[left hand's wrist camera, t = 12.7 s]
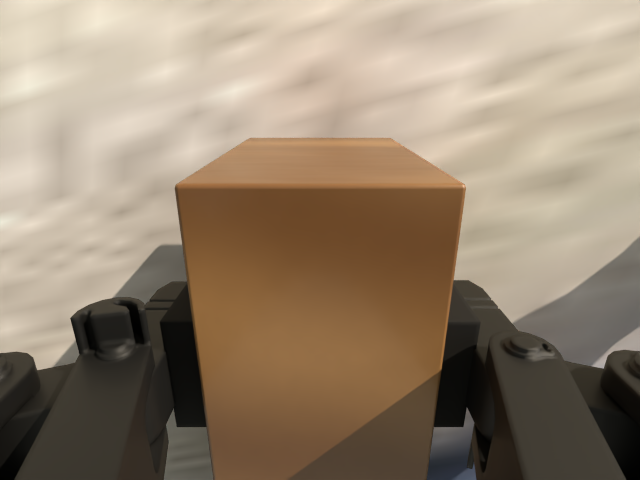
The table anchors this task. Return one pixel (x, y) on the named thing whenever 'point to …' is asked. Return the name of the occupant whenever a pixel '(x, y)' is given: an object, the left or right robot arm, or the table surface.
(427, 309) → the beam
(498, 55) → the table surface
